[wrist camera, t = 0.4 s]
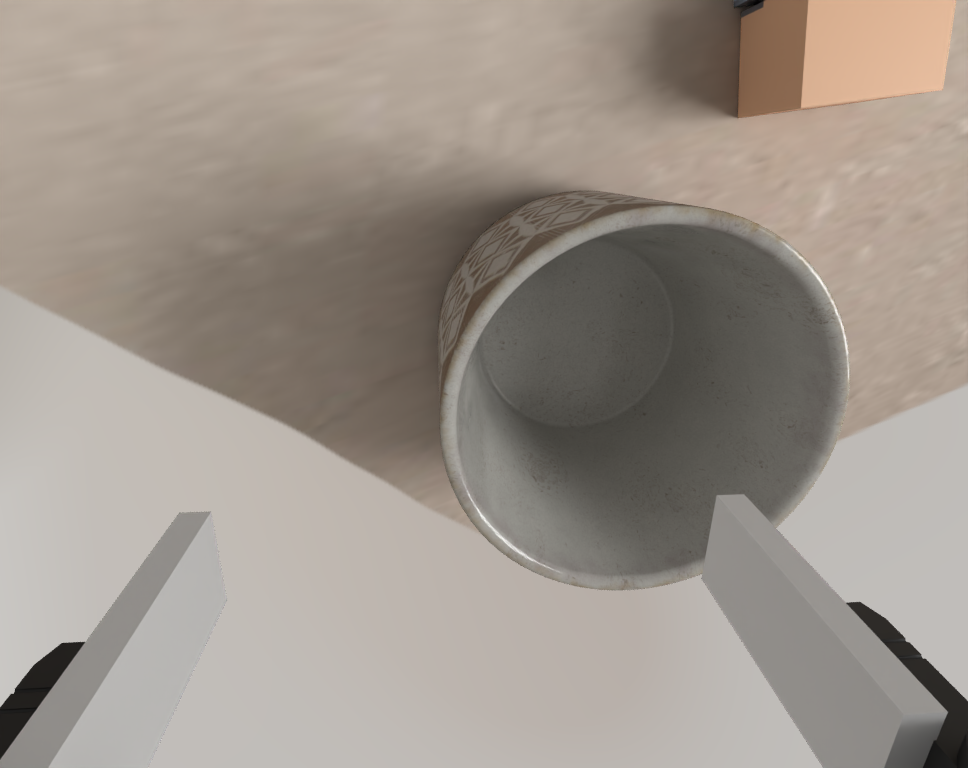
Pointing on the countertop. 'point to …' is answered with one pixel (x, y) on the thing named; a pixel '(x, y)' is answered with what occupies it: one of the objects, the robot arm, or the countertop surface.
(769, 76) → the block
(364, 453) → the countertop surface
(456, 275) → the planter
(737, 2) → the blue-grey slab
